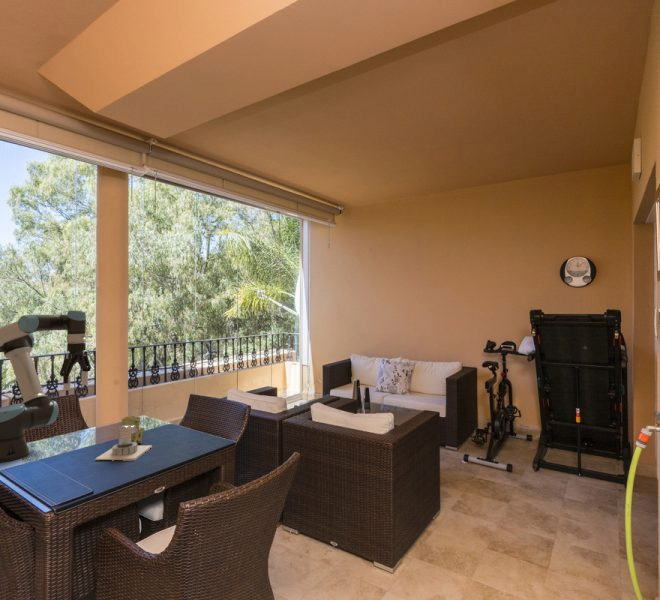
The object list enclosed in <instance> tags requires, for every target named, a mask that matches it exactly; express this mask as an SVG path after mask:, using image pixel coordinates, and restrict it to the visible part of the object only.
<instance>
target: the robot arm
mask: <svg viewBox="0 0 660 600" xmlns="http://www.w3.org/2000/svg"><path fill="white" fill-rule="evenodd" d="M86 320H87V317H86V311H85V310H83V309H82V310H68V311H67V313H66V314H25V315H22V316H20V317H19V318H18V320H17V321H15V322H11V323H9V324H5V325H4V326H1V327H0V353H3V355H4V357H5V359H9V361H10V364H11V367H12V369H13V373H14V376H15V380H16V382H17V384H18V385H17V386H18V388H19V390H20V393H21V397H22V400H23V401H22V403H14V404H10V405H9V404H8V405H6V406H2V407H0V463H4V462H5V463H6V462H11V461H15V460H19V459H22V458H25V457H26V456H29V453H30V449H29V447H28V444H27V441H26V438H25V431H28V430H32V429H36V428H40V427H45V426H48V425H51V424H53V423H55V421H56V420H57V418H58V415H59V412H60V411H59V404H58V403H57V402H56V401H55V400H53V399H51V400H50V397H49V395H48V394H45V393H44V391H43V388H42V384H41V382H40V379H39V375H38V373H37V370H36V368H35V364H34V362H33V361H34V360H33V358H32V356H31V353H32V352H33V348H34V346H35V337H34V335H33V333H35V332H49V331H50V332H51V331H67V333H66V343H67V344H66V351H67V352H68V353H65V354H64V356H63V357H64V359H63V362H62V365H61V369H60V372H59V376H60V377H63V378H62V379H63V380H62V382H63V383H62V385H63V386H62V387H63V388H62V389H63V391H71V375H70V374H71V372H72V370H73V368H74V366H75V364H77V363H78V365H79V367H80V369H81V370H82V371H81V381H80V383H81V386H88V384H89V372H91V370H92V366H91V363H90V360H89V356H88V351H86V348H87V347H86V343H85V342H86V338H87V336H86V330H87V321H86Z"/></svg>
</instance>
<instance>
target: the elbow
mask: <svg viewBox="0 0 660 600" xmlns="http://www.w3.org/2000/svg"><path fill="white" fill-rule="evenodd" d="M136 432H137V427H136V425H133V426H131V425H122V426H121V425H120V426H119V427H118V444H119V448H124V447H129V446H131V434H132V433H136Z"/></svg>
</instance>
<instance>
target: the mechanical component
mask: <svg viewBox="0 0 660 600" xmlns="http://www.w3.org/2000/svg"><path fill="white" fill-rule="evenodd" d="M141 418H142V417H140V416H135V415H131V416H125V417H124V418H121V423H120V426H122V425H131V426H133V425H136V427H137V432H136V433H132V434H131V442H136V443H137V444H138V443H141V444H142V443H143V437H144V432H145V428H144V427H140V424H141V423H140V422H141Z"/></svg>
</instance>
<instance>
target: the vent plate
mask: <svg viewBox="0 0 660 600" xmlns="http://www.w3.org/2000/svg"><path fill="white" fill-rule="evenodd" d="M150 448H151V449H152V448H153V445H138V442H131V446H129V447H124V448H119V443H117V444H114V445H113V446H112V448H110V449H109V450H106V451H105V452H104V453H102V454H100V455H99V456H97V457H96V458H95V459H94V461H95V460H112V462H115V461H114V460H123V462H125V461H128V462H130V461H131V462H134V461H137V459H139V458H141V457H142V456H143V455H145V454H146V453H147V452H148V451H150V450H151V449H150ZM145 452H146V453H145Z"/></svg>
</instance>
